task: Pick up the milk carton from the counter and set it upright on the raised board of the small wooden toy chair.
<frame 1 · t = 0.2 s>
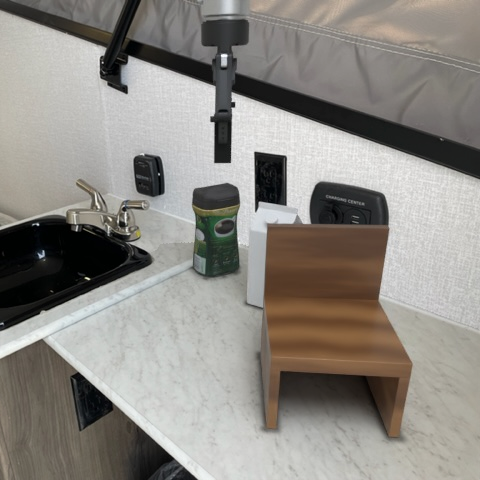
hand: (223, 153, 86), 28 cm above the worktop, tool pointing down, fingers open, 13 cm apart
wooden toy chair: (321, 390, 70), on the worktop
coffee jar: (215, 269, 107), on the worktop
milk carton: (272, 301, 93), on the worktop
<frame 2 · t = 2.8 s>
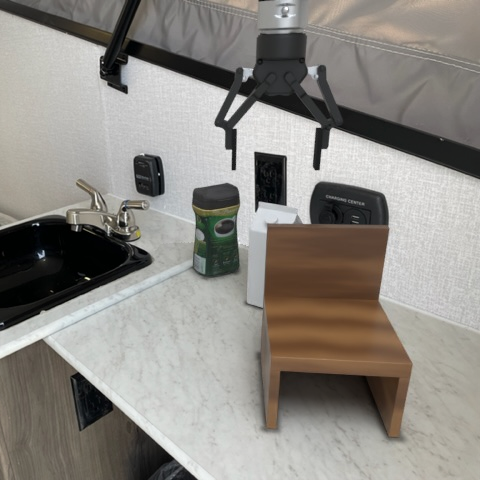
hand: (274, 168, 84), 25 cm above the worktop, tool pointing down, fingers open, 13 cm apart
nothing on the worktop moved.
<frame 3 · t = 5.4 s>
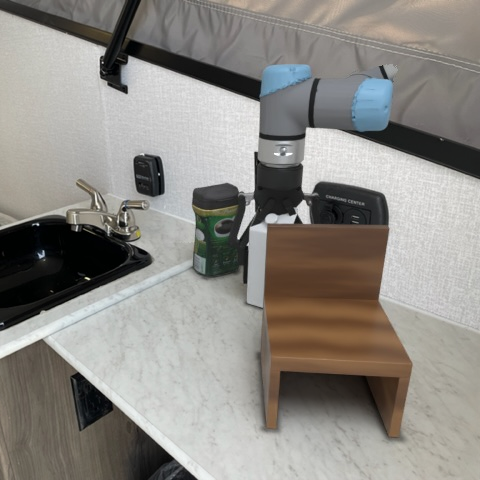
hand: (273, 281, 92), 4 cm above the worktop, tool pointing down, fingers closed on milk carton, 9 cm apart
milk carton: (272, 301, 93), on the worktop, touching gripper
everything else where it was.
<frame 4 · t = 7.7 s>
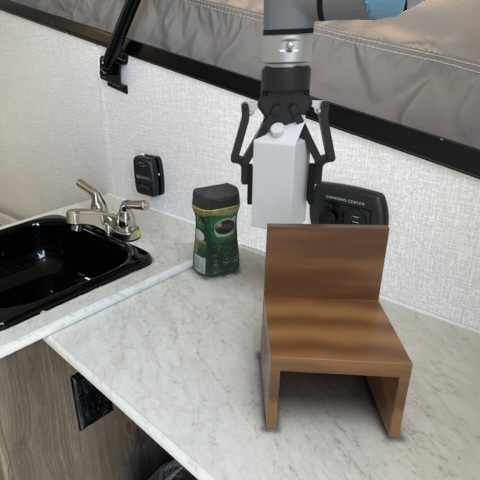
hand: (279, 202, 86), 20 cm above the worktop, tool pointing down, fingers closed on milk carton, 9 cm apart
milk carton: (278, 225, 87), point 15 cm above the worktop, touching gripper
everything else where it was.
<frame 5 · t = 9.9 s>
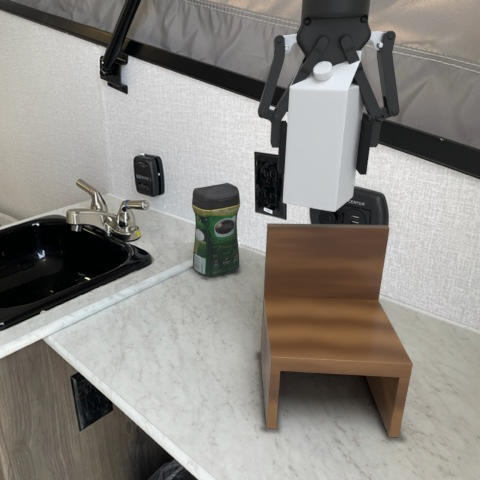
hand: (320, 171, 65), 30 cm above the worktop, tool pointing down, fingers closed on milk carton, 9 cm apart
milk carton: (317, 202, 67), point 25 cm above the worktop, touching gripper
everything else where it was.
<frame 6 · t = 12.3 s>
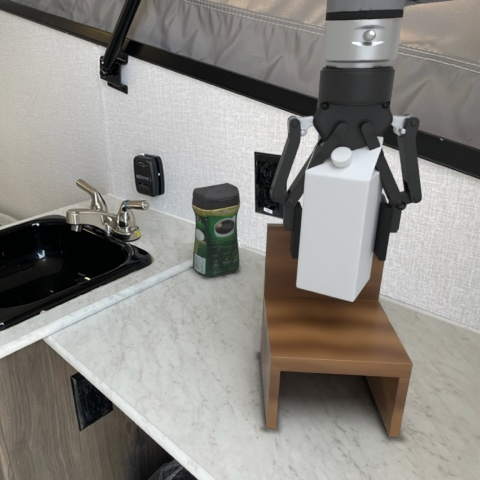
hand: (336, 255, 62), 21 cm above the worktop, tool pointing down, fingers closed on milk carton, 9 cm apart
milk carton: (332, 285, 63), point 17 cm above the worktop, touching gripper
everything else where it was.
when the fingers open (15 cm above the worktop, at t = 14.2 s): milk carton stays where it is, resting on wooden toy chair.
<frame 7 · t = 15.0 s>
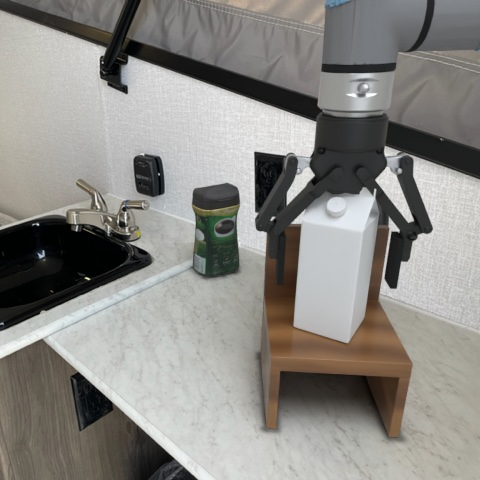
hand: (333, 282, 63), 17 cm above the worktop, tool pointing down, fingers open, 13 cm apart
milk carton: (328, 324, 66), point 11 cm above the worktop, touching wooden toy chair
everything else where it was.
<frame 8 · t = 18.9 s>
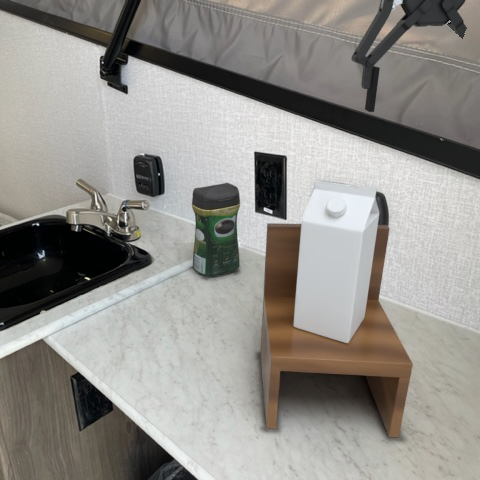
hand: (415, 110, 77), 35 cm above the worktop, tool pointing down, fingers open, 13 cm apart
nothing on the worktop moved.
at the end: milk carton inside the target area on the wooden toy chair (0.0 cm from its centre), point 10.8 cm above the wooden toy chair's base; milk carton tilted 0°; the gripper is holding nothing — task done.
